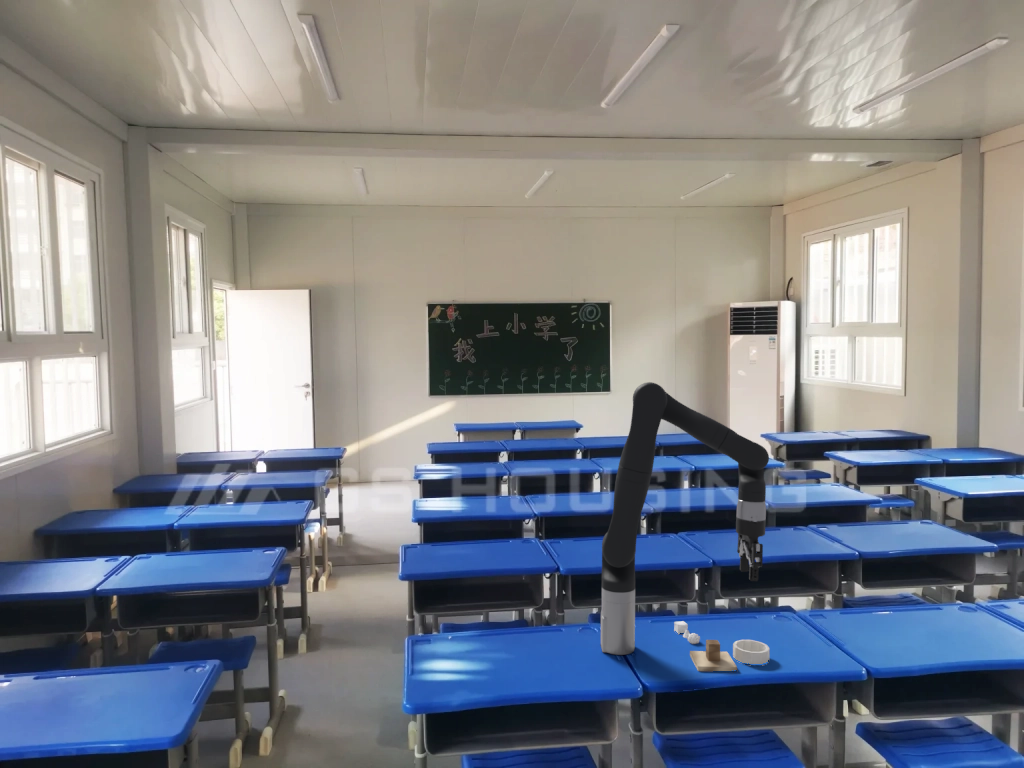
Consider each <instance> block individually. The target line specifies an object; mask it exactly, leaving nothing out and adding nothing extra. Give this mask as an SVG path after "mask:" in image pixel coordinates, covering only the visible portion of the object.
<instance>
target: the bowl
mask: <svg viewBox="0 0 1024 768" xmlns="http://www.w3.org/2000/svg"><path fill="white" fill-rule="evenodd" d="M770 651H771V650H770V647H769V646H768V644H766V643H764V642H762V641H758V640H754V639H740V640H736V641H734V642H733V643H732V657H733V659H734V658H735V659H736V660H738V661H740V662H742V663H747V664H748V663H749V664H763V663H766V662H768V660H769V661H770ZM735 659H734V660H735ZM736 660H735V661H736ZM738 661H737V662H738ZM740 662H739V663H740ZM742 663H741V664H742ZM768 663H769V662H768Z"/></svg>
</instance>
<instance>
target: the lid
mask: <svg viewBox="0 0 1024 768" xmlns="http://www.w3.org/2000/svg"><path fill="white" fill-rule="evenodd" d="M690 656H691V657H690ZM689 657H690V659H691V658H692V659H691V661H692V660H693V661H692V662H694V663H693V664H694V666H695V668H696V670H697V671H698V672H713V671H732V670H733V671H734V670H737V671H738V665H736V663H735V662H734V660H733V659H732V657H731V655H730V653H728V651H721V643H720V641H719V640H718V639H706V640H705V650H704V651H703V650H689Z"/></svg>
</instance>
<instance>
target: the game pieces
mask: <svg viewBox="0 0 1024 768" xmlns="http://www.w3.org/2000/svg"><path fill="white" fill-rule="evenodd" d="M673 624H674V625H673V627H674V629H673V631H674V632H675V631H676V632H677V633H678V634H677V633H676V632H675V633H676V634H677V635H679V634H680V633H684V634H682V637H683V638H685V639H686V640H687V642H688V643H690V644H691V645H696V644H699V643H700V641H701V636H700V635H699V634H698V633H695V632H692V633H690V630H688V627H689V625H688V623H686V622H685V621H684V620H682V621H677V620H676V621H674V622H673ZM680 635H681V634H680Z"/></svg>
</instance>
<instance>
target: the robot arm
mask: <svg viewBox="0 0 1024 768" xmlns="http://www.w3.org/2000/svg"><path fill="white" fill-rule="evenodd" d="M631 412H632V413H631V422H630V428H629V433H628V435H627V438H626V441H625V443H624V446H623V449H622V452H621V455H620V459H619V462H618V467H617V472H616V476H615V483H614V493H613V509H612V515H611V519H610V523H609V527H608V530H607V532H606V533H605V534H604V536H603V538H602V541H601V545H602V546H601V611H600V647H601V652H602V653H608V654H611V655H619V656H623V655H630V654H632V653H633V652H634V651H635V648H636V647H635V646H636V645H635V644H636V641H635V639H636V634H635V633H636V631H635V630H636V552H637V537H638V530H639V529H638V528H639V522H640V519H641V514H642V511H643V508H644V505H645V502H646V499H647V495H648V491H649V488H650V483H651V478H652V474H653V468H654V462H655V453H656V442H657V436H658V431H659V428H660V425H661V421H662V420H663V421H666V422H667V423H669V424H671V425H673V426H675V427H677V428H678V429H680V430H681V431H684V432H685V433H687V434H688V435H689V436H691V437H692V438H694V439H696V440H697V441H699V442H700V443H702V444H704V445H706V446H708V447H709V448H711V449H713V450H714V451H716V452H718V453H721V454H723V455H725V456H727V457H729V458H730V459H732V460H734V461H735V462H736V463H737V467H738V469H737V470H738V481H739V482H738V489H737V490H738V491H737V492H738V493H737V494H738V495H737V496H738V497H737V504H736V514H735V515H736V517H735V519H736V521H735V533H737V551H736V552H737V554H738V556H739V571H740V572H742V573H743V572H744V573H745V572H746V573H747V572H749V573H748V579H749V580H750V582H759V571H760V568H762V567H763V565H764V564H763V561H764V559H763V555H764V553H763V547H764V545H763V544H762V543H760V542H759V537H763V536H765V535H766V523H767V522H766V520H767V519H766V517H767V506H766V495H767V493H766V491H767V489H766V488H767V486H766V481H765V479H764V477H765V476H764V474H765V473H764V472H765V471H764V470H765V469H764V468H766V467H767V466H768V463H769V461H770V456H769V452H768V450H767V449H766V448H765V446H762V445H761V444H759V443H758V442H754V441H753V440H750V439H748V438H746V437H744V436H742V435H740V434H738V432H736V431H735V430H733V429H732V428H730V427H728V426H727V425H725V424H723V423H721V422H719V421H717V420H715V419H713V418H712V417H709V416H707V415H705V414H704V413H703V414H702V413H701V412H698V411H696V410H695V409H692V408H691V407H688V406H686V405H685V404H683V403H681V402H680V401H678V400H677V399H675V398H674V397H673V396H671V395H670V394H669V393H667V392H666V391H665V388H663V386H661V385H660V384H658V383H655V382H650V381H649V382H644V383H641V384H640V385H638V386H637V387H636V389H635V390H634V392H633V395H632V411H631Z"/></svg>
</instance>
